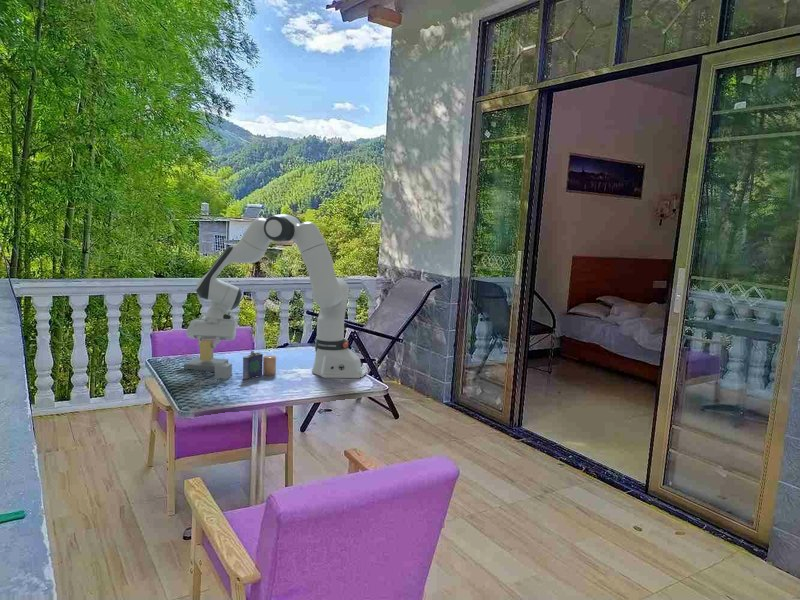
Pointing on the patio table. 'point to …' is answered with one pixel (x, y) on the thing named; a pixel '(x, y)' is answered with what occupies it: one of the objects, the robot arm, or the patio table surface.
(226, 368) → the grey block
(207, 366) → the slate tile
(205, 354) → the ochre block
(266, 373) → the brown upright cylinder
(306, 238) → the robot arm
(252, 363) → the flask
